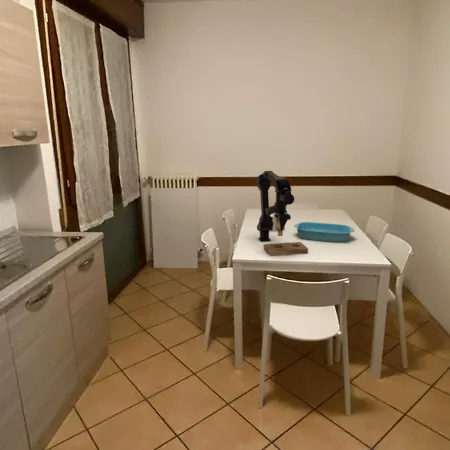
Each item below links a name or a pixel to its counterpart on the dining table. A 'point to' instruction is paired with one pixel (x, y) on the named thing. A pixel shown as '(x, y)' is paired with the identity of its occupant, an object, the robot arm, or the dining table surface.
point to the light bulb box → (273, 223)
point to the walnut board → (285, 249)
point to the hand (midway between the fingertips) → (280, 228)
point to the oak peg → (280, 232)
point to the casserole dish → (324, 231)
